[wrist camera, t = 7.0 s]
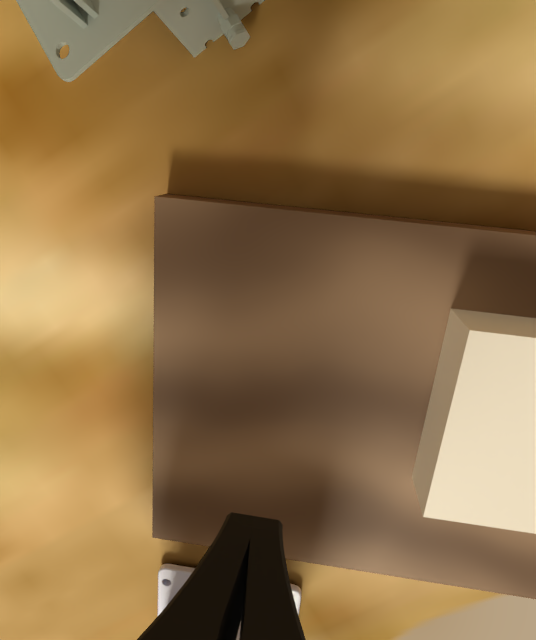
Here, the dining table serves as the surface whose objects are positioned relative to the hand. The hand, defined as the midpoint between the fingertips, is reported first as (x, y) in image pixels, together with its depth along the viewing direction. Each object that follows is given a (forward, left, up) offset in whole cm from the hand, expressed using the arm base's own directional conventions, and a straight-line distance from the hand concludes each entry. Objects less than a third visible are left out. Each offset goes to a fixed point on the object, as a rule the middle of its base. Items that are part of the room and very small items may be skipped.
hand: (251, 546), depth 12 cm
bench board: (-1, -6, -10) cm, 12 cm away
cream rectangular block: (0, -9, -9) cm, 13 cm away
